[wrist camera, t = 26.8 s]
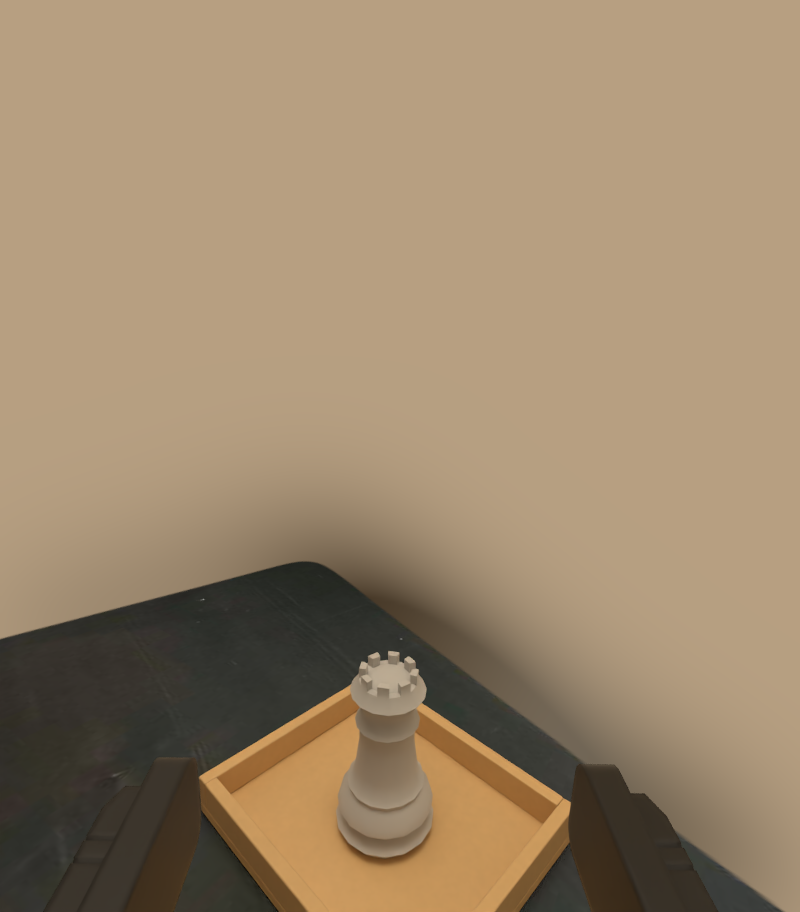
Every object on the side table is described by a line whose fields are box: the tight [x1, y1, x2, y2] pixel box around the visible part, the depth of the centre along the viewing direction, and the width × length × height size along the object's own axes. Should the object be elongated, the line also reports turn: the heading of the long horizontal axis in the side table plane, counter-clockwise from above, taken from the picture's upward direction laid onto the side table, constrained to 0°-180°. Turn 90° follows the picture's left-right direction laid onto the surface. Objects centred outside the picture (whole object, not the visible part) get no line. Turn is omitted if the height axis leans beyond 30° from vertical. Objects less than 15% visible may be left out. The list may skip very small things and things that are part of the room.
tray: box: [199, 685, 571, 912], centre depth 25 cm, size 13×11×2 cm
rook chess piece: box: [336, 651, 433, 859], centre depth 24 cm, size 4×4×8 cm
